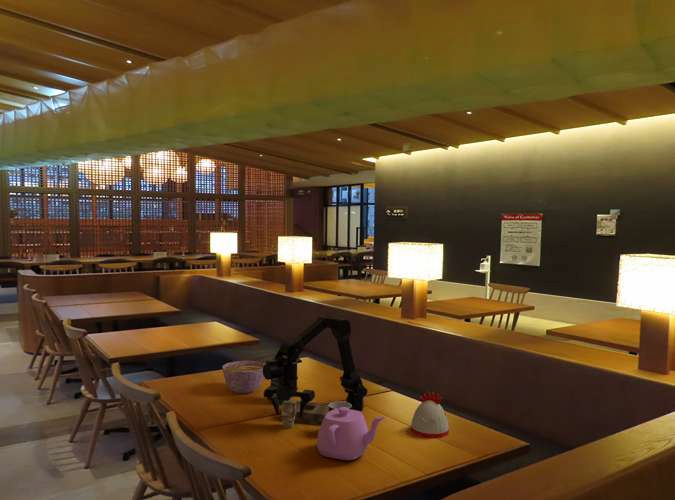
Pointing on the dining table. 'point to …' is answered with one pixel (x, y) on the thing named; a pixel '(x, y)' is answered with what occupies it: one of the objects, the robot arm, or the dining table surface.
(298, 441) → the dining table surface
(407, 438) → the dining table surface
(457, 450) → the dining table surface
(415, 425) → the kitchen timer
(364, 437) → the teapot
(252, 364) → the bowl of food
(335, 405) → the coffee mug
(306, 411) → the grey block with hole
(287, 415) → the wooden post
